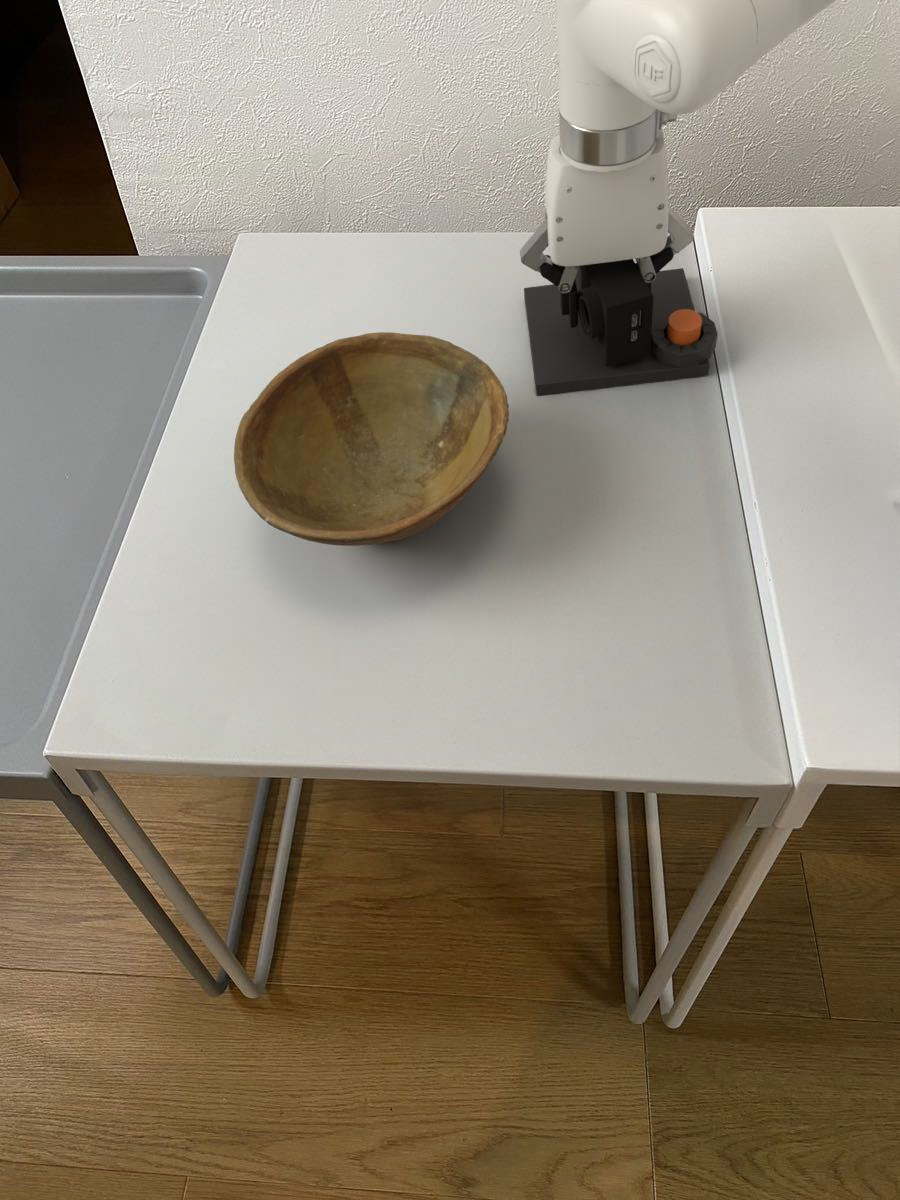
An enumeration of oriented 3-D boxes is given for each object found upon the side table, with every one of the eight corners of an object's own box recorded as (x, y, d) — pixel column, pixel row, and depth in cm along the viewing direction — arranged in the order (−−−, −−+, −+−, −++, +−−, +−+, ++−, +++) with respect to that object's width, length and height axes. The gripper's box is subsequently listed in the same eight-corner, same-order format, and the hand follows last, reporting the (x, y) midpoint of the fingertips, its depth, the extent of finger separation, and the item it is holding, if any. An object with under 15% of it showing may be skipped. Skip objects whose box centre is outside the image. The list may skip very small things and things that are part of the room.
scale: (691, 278, 94) (694, 252, 92) (718, 374, 86) (722, 350, 84) (524, 298, 95) (522, 274, 93) (536, 395, 88) (535, 372, 85)
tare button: (696, 322, 87) (698, 307, 85) (702, 343, 85) (704, 328, 84) (664, 325, 87) (665, 310, 86) (669, 347, 85) (671, 332, 84)
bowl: (564, 529, 79) (562, 449, 71) (320, 651, 75) (288, 582, 67) (447, 378, 90) (434, 294, 82) (231, 476, 87) (194, 399, 79)
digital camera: (560, 301, 92) (557, 240, 86) (613, 287, 92) (614, 225, 86) (593, 371, 86) (593, 310, 80) (649, 356, 86) (653, 294, 80)
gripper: (710, 86, 74) (689, 276, 89) (495, 116, 75) (510, 299, 90) (729, 138, 70) (704, 329, 85) (501, 170, 71) (516, 352, 86)
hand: (604, 312), depth 87 cm, fingers closed on digital camera, 5 cm apart
